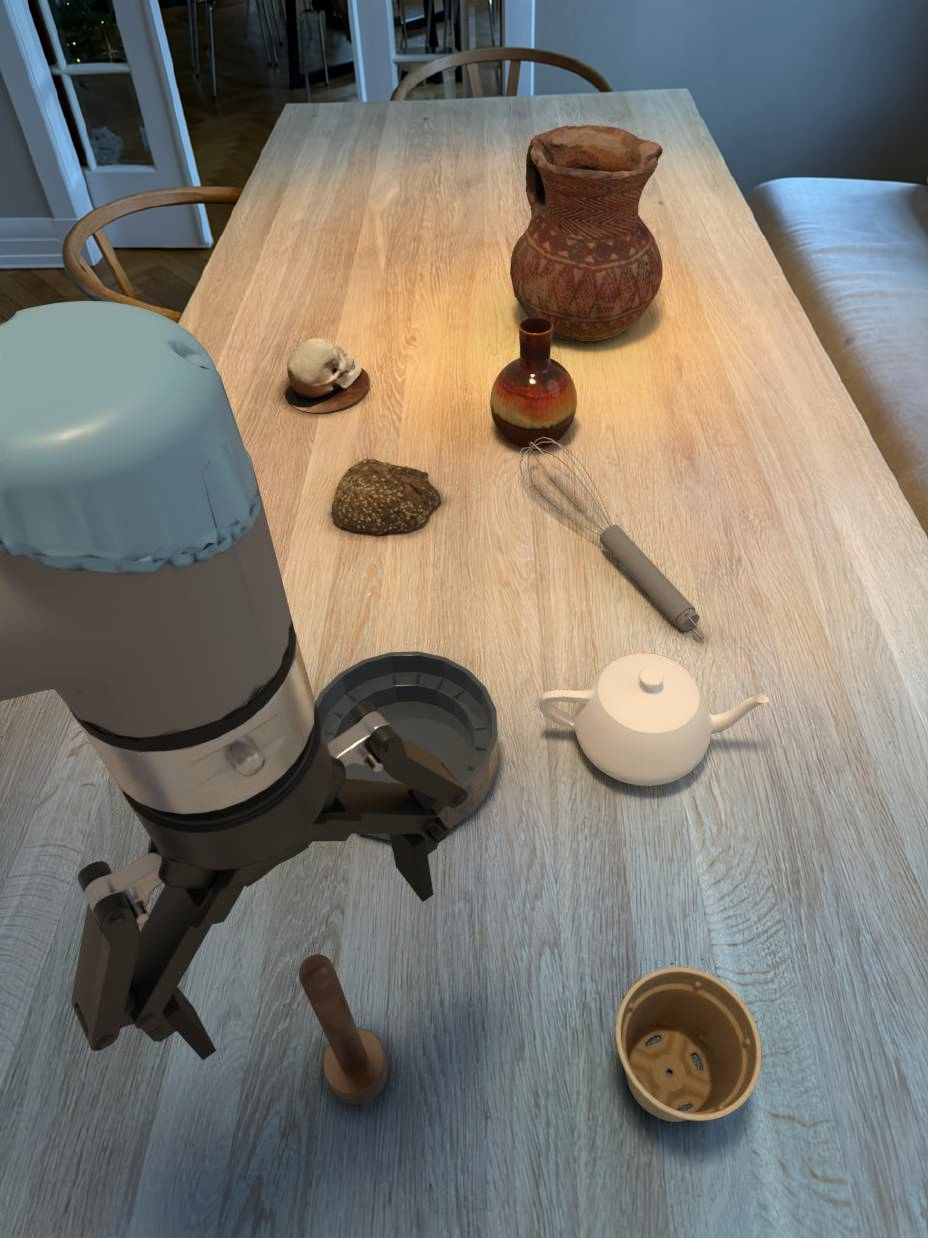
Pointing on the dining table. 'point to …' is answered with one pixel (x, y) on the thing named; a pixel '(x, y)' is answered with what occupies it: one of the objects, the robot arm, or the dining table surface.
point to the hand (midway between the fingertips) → (312, 953)
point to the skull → (323, 377)
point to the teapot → (643, 719)
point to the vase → (533, 391)
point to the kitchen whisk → (629, 555)
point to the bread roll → (383, 498)
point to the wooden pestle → (343, 1036)
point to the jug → (587, 232)
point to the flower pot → (687, 1045)
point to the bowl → (422, 717)
